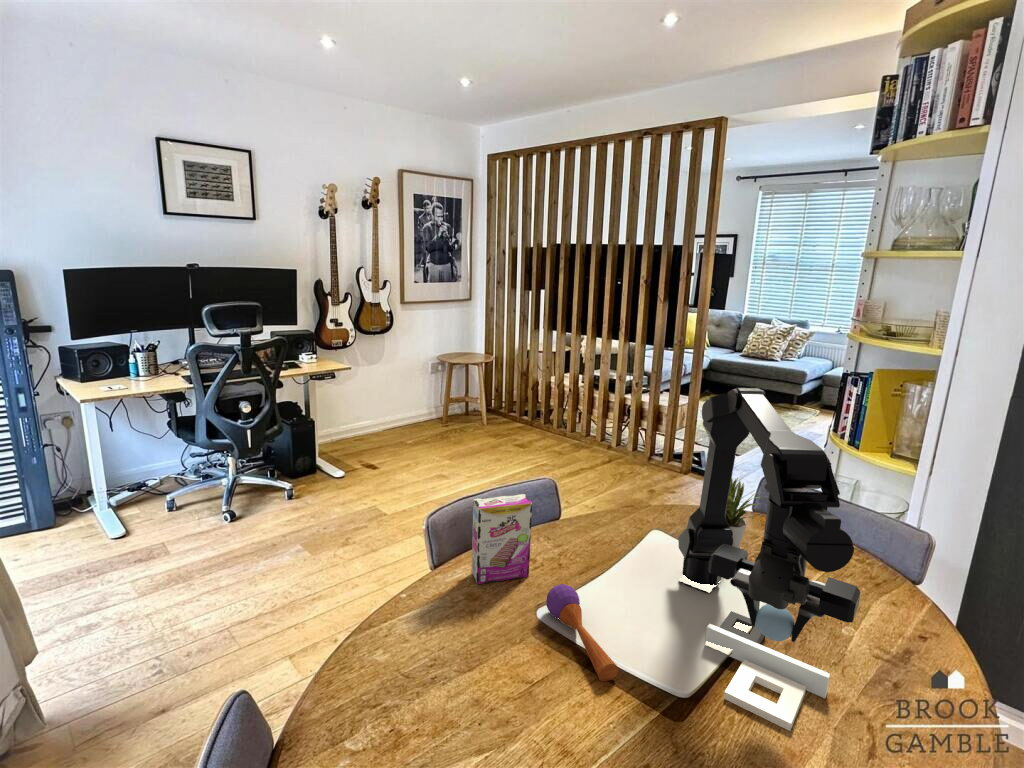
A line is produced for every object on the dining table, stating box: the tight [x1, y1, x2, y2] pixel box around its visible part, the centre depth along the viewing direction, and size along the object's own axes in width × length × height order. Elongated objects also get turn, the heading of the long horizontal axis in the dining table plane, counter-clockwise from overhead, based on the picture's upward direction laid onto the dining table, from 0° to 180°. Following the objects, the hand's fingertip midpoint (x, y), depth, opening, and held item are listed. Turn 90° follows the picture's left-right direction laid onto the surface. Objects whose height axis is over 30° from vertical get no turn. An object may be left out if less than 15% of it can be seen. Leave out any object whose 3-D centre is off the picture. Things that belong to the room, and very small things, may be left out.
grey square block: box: [719, 610, 765, 645], centre depth 96 cm, size 6×6×2 cm
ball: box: [756, 603, 795, 642], centre depth 80 cm, size 5×5×5 cm
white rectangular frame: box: [723, 660, 807, 732], centre depth 82 cm, size 9×9×1 cm
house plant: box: [701, 476, 760, 548], centre depth 127 cm, size 14×14×16 cm
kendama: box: [545, 583, 619, 683], centre depth 93 cm, size 6×6×20 cm
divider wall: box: [705, 623, 831, 699], centre depth 88 cm, size 18×1×4 cm, turn 51°
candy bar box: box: [471, 493, 533, 585], centre depth 111 cm, size 11×5×16 cm, turn 108°
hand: (773, 632), depth 80 cm, fingers closed on ball, 5 cm apart
